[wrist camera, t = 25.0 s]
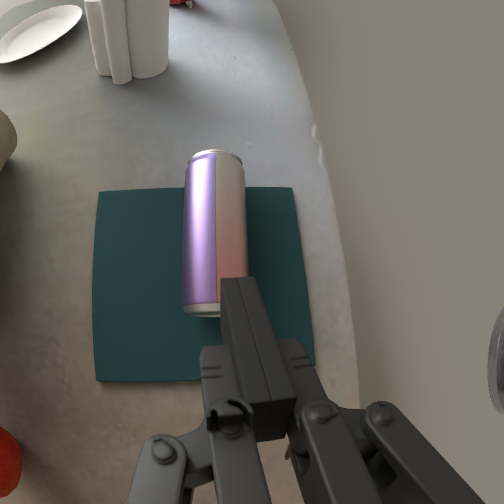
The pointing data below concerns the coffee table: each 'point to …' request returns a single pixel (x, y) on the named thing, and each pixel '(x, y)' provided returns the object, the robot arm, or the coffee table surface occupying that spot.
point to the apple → (9, 463)
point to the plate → (38, 32)
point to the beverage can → (212, 229)
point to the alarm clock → (180, 0)
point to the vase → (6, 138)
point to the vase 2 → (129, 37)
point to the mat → (170, 282)
